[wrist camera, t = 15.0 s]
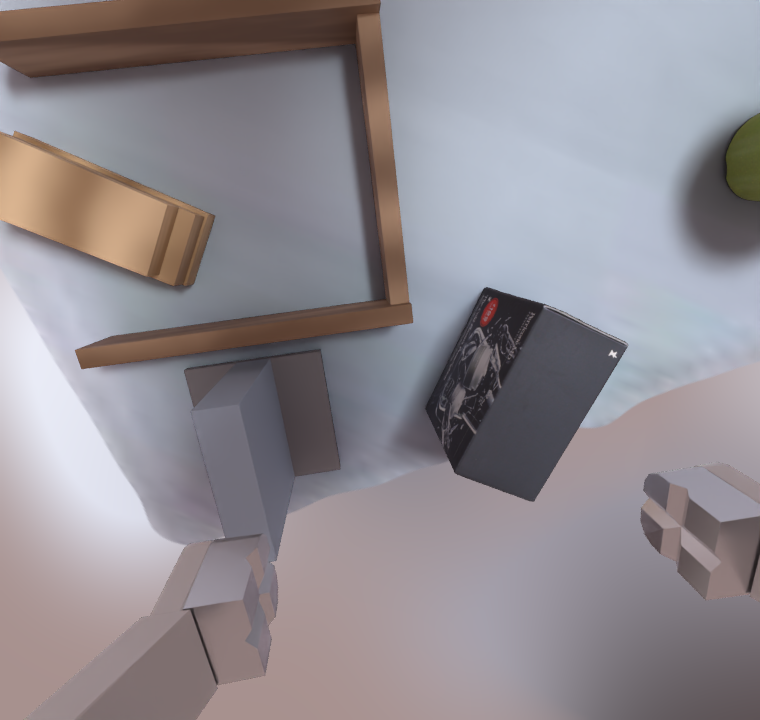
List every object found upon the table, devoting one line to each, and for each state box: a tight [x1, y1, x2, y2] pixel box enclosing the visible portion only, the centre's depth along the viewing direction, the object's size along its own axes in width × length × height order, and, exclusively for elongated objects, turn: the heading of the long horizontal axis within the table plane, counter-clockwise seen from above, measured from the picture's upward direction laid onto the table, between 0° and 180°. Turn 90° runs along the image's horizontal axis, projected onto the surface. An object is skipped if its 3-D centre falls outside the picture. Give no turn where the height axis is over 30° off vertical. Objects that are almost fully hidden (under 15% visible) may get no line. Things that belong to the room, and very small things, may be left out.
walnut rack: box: [0, 0, 413, 369], centre depth 30 cm, size 22×26×5 cm
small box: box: [425, 287, 628, 501], centre depth 33 cm, size 13×7×12 cm, turn 156°
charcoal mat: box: [184, 349, 340, 476], centre depth 38 cm, size 12×12×1 cm
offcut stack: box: [0, 131, 215, 286], centre depth 30 cm, size 14×6×6 cm, turn 67°
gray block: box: [191, 358, 295, 562], centre depth 32 cm, size 12×3×11 cm, turn 7°
